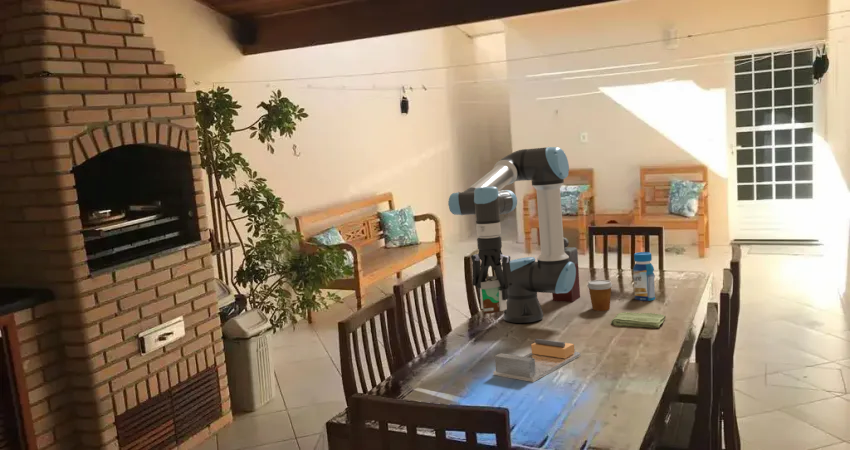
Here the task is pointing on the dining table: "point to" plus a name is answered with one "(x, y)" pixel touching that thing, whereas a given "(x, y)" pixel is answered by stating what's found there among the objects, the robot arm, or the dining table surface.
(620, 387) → the dining table surface
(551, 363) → the vise
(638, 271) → the beverage bottle
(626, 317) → the washcloth
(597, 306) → the disposable coffee cup
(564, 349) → the block
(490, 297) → the food container
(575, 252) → the toy vending machine
